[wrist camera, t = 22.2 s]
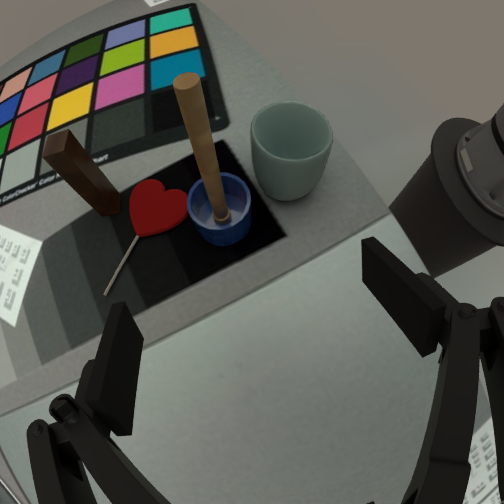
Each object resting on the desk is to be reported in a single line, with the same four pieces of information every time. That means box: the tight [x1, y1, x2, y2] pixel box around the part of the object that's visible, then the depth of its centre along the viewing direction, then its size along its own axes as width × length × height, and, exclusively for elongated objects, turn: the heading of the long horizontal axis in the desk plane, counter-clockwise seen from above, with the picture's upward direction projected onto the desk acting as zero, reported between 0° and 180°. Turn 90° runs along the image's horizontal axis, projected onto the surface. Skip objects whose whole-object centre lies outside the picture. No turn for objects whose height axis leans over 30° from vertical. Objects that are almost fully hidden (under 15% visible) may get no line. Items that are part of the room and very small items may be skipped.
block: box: [42, 129, 121, 216], centre depth 30 cm, size 3×3×14 cm
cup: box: [250, 101, 333, 201], centre depth 32 cm, size 8×8×10 cm
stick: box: [173, 72, 231, 225], centre depth 25 cm, size 2×2×20 cm
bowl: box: [187, 173, 252, 246], centre depth 33 cm, size 6×6×5 cm
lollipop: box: [104, 179, 189, 296], centre depth 35 cm, size 8×1×15 cm
